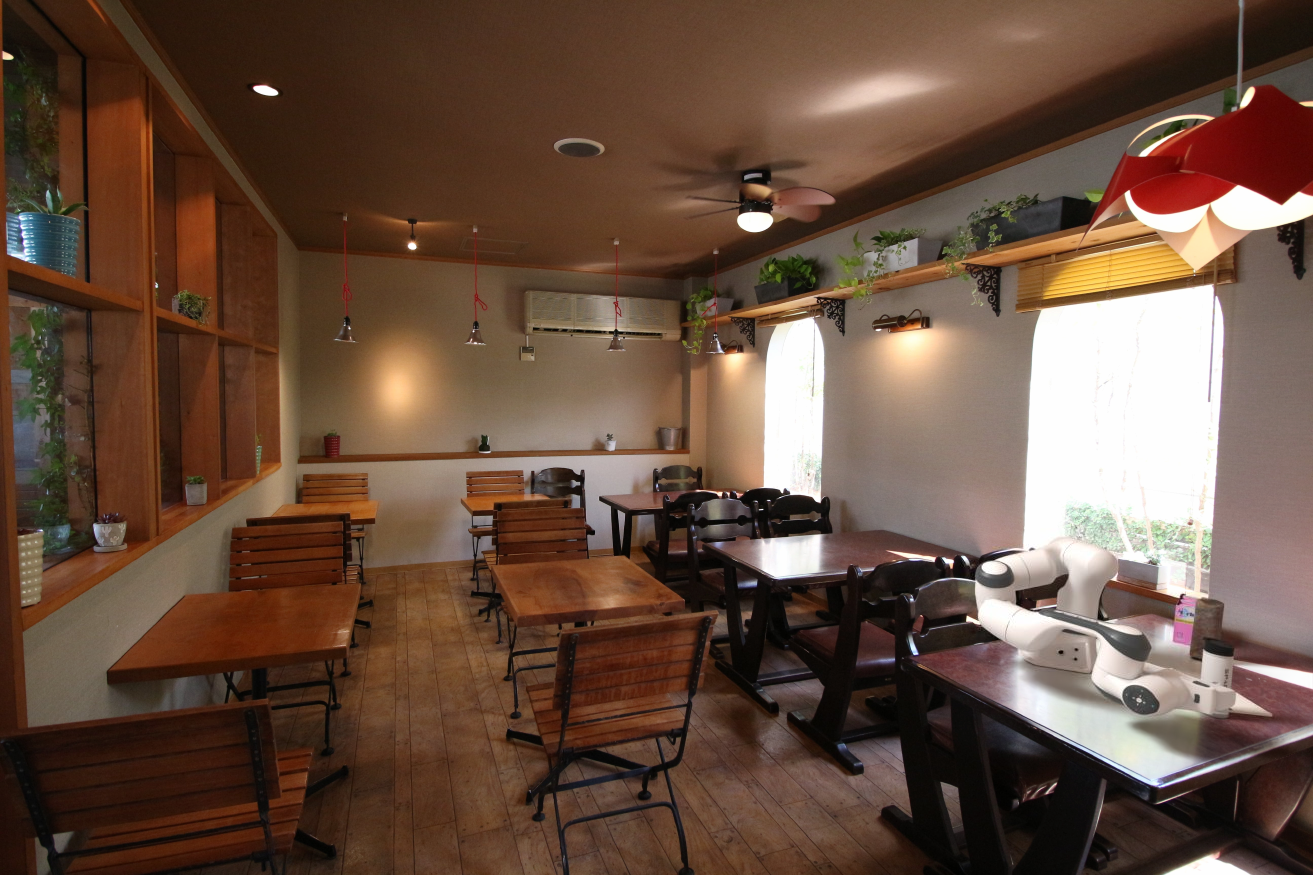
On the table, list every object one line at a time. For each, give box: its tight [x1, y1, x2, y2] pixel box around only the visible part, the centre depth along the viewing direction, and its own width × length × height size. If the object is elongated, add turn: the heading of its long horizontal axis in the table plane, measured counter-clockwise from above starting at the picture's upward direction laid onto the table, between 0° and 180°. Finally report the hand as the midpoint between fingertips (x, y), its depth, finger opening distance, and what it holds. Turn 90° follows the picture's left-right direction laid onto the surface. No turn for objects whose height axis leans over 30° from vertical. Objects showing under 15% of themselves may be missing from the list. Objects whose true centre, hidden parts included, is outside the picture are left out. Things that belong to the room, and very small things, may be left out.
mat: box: [1229, 692, 1273, 717], centre depth 186 cm, size 10×16×1 cm, turn 170°
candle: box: [1188, 597, 1225, 661], centre depth 218 cm, size 8×7×20 cm
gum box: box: [1172, 592, 1207, 647], centre depth 241 cm, size 24×8×14 cm, turn 138°
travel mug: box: [1200, 637, 1235, 720], centre depth 178 cm, size 6×7×20 cm
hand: (1195, 678), depth 171 cm, fingers open, 8 cm apart
